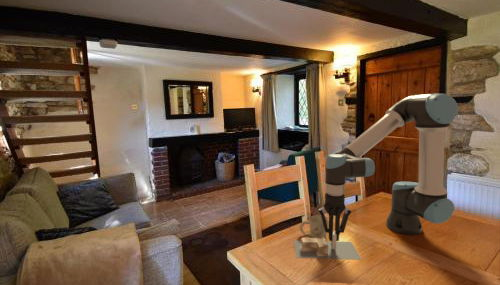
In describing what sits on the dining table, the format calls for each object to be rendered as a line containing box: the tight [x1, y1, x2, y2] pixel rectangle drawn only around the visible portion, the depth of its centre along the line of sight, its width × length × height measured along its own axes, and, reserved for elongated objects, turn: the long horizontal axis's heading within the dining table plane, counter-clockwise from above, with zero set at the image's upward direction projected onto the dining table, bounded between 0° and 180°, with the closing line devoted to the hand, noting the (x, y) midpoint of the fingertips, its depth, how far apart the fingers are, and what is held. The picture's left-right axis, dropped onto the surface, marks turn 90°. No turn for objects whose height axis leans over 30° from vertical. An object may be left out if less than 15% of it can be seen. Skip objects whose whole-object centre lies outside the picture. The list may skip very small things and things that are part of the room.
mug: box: [299, 214, 329, 239], centre depth 117 cm, size 8×13×10 cm, turn 78°
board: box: [293, 240, 363, 261], centre depth 107 cm, size 25×13×2 cm, turn 86°
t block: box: [301, 234, 328, 256], centre depth 107 cm, size 10×10×4 cm
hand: (333, 247), depth 106 cm, fingers closed
